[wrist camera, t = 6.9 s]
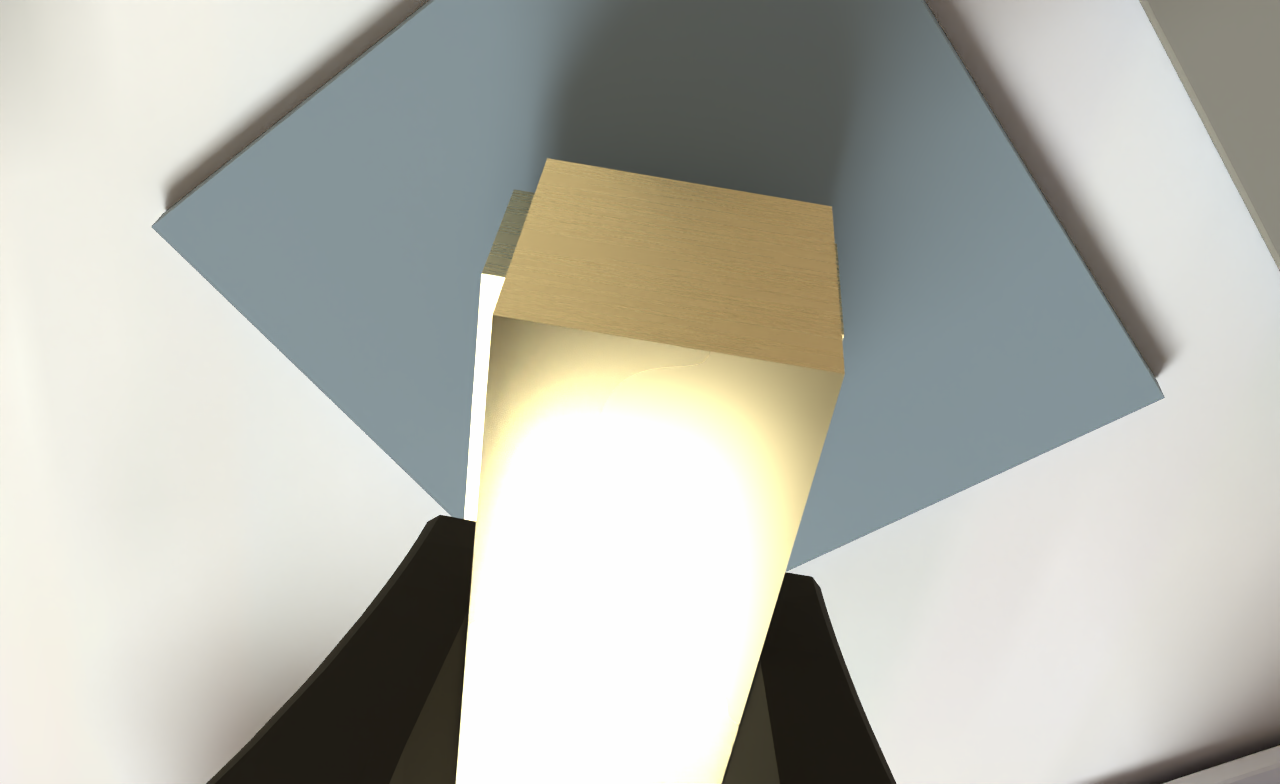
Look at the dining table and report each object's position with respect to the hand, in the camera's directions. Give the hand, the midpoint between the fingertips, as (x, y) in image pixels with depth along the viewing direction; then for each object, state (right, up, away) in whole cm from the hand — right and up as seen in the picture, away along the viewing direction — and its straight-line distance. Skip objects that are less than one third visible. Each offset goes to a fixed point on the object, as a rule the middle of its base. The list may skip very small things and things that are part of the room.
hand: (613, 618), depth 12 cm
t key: (0, +3, +4) cm, 5 cm away
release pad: (+1, +4, +5) cm, 6 cm away
